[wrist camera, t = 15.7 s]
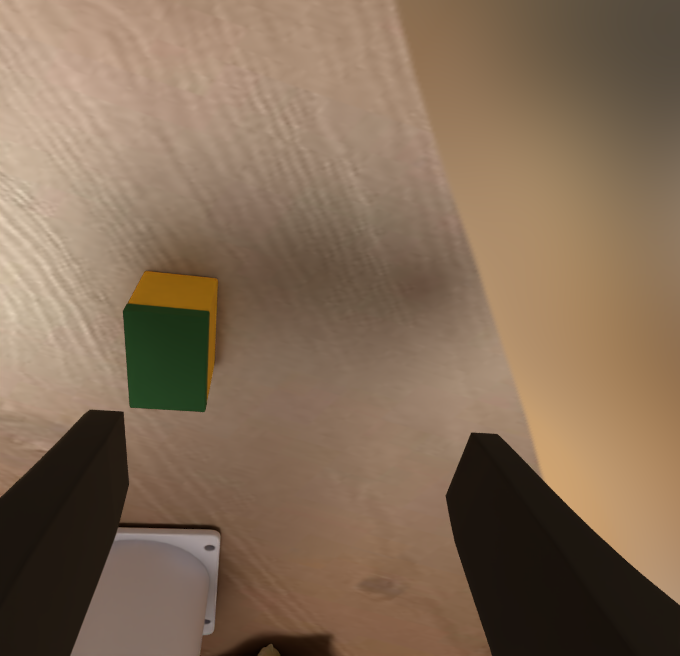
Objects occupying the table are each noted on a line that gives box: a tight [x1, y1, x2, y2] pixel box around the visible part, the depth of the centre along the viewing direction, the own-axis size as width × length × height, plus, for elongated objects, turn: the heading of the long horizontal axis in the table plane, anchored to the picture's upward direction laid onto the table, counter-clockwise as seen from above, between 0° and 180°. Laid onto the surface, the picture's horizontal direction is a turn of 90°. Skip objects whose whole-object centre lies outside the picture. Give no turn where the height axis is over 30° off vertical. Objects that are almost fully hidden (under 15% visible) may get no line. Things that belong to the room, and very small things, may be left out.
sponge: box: [123, 271, 218, 412], centre depth 18 cm, size 4×3×3 cm, turn 171°
